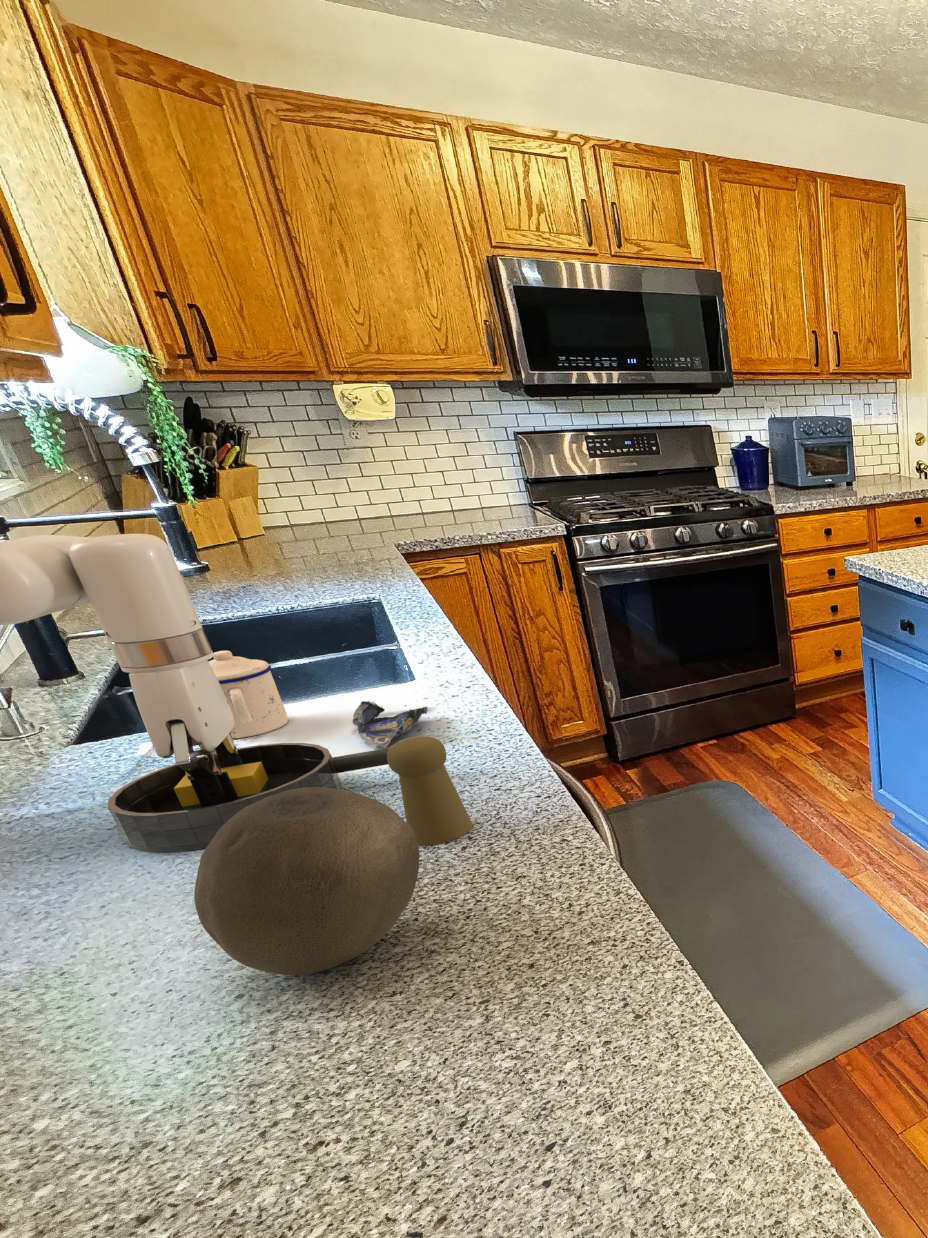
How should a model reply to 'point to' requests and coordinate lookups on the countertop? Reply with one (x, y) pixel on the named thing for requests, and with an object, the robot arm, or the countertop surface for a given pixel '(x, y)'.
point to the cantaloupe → (306, 879)
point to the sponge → (242, 777)
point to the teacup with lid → (249, 694)
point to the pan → (164, 826)
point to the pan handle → (358, 761)
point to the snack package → (383, 723)
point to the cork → (428, 791)
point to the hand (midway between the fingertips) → (227, 795)
